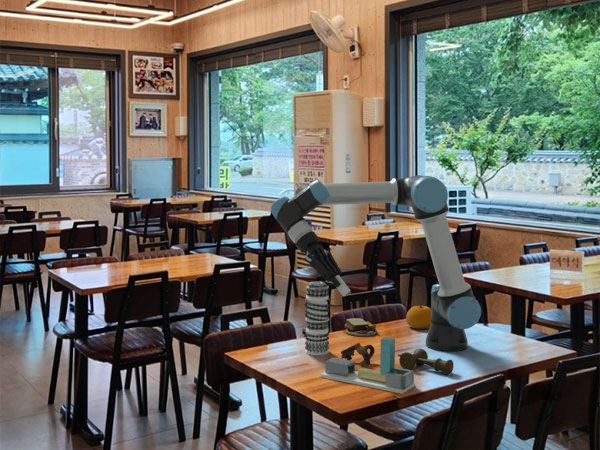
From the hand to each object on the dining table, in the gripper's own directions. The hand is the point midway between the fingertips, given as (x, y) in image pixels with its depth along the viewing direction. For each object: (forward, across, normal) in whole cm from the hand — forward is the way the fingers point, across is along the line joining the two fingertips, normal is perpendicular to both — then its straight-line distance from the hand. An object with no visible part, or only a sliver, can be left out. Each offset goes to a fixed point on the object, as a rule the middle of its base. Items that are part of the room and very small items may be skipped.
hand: (346, 293), depth 238 cm
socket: (+33, +5, -3) cm, 34 cm away
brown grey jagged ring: (+18, -10, -20) cm, 28 cm away
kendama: (+32, -18, -5) cm, 37 cm away
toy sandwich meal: (+4, -47, -36) cm, 59 cm away
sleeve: (+19, +5, -18) cm, 26 cm away
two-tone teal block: (+28, +5, -7) cm, 29 cm away
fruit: (+15, -69, -25) cm, 75 cm away
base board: (+25, +5, -11) cm, 28 cm away
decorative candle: (+4, -14, -34) cm, 37 cm away
